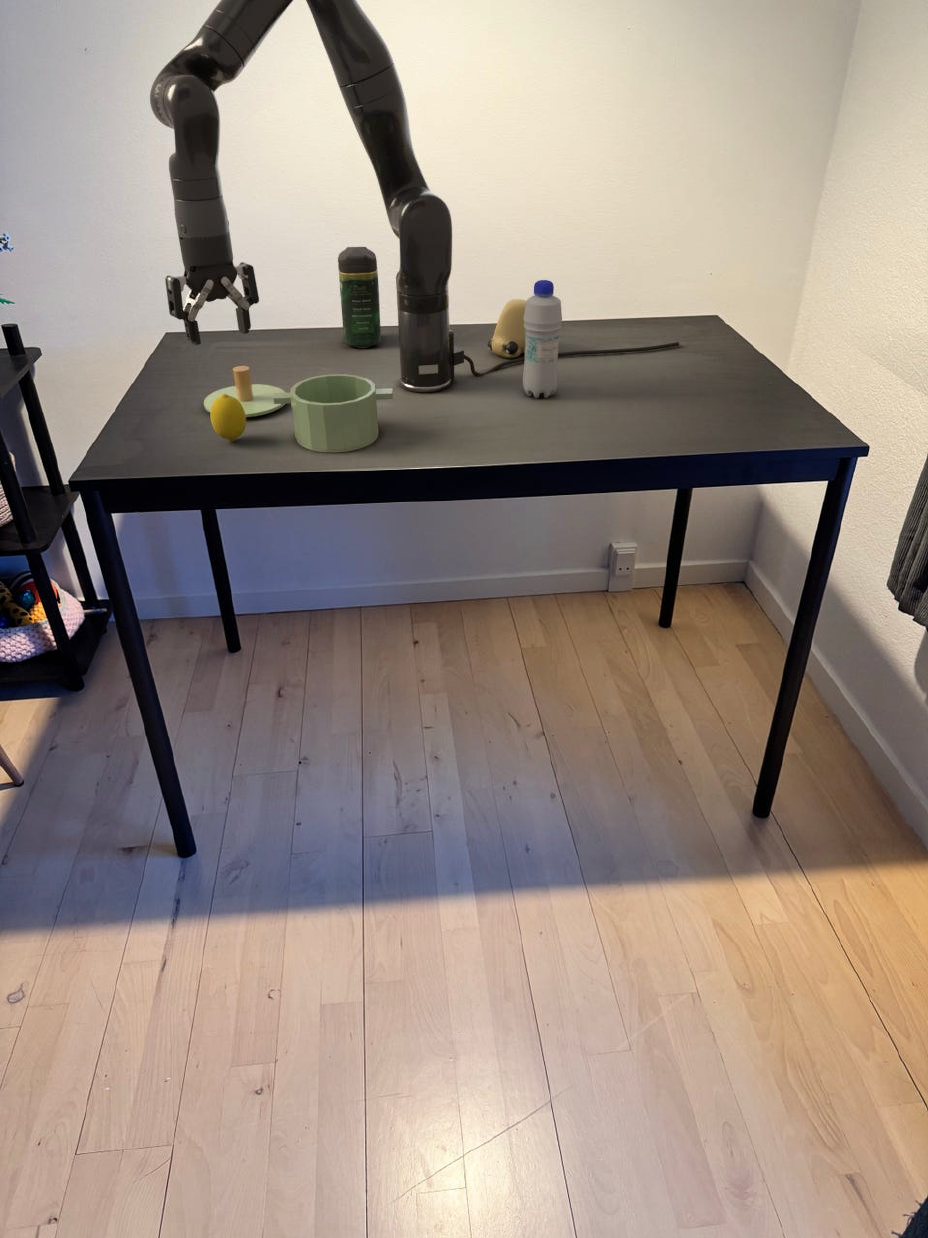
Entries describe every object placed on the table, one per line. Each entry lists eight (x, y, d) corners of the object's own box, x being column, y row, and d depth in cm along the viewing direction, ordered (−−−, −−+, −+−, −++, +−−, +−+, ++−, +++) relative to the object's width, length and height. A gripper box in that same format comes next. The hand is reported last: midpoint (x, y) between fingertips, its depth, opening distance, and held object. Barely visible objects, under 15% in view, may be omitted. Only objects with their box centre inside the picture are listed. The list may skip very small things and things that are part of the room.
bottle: (533, 403, 158) (537, 287, 147) (514, 390, 163) (517, 278, 152) (565, 396, 161) (572, 282, 149) (545, 384, 166) (550, 273, 154)
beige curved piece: (499, 364, 186) (469, 338, 177) (527, 313, 185) (499, 284, 177) (532, 375, 179) (502, 348, 171) (561, 322, 178) (533, 292, 170)
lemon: (241, 449, 143) (233, 401, 138) (209, 446, 144) (200, 399, 139) (254, 435, 147) (247, 389, 143) (223, 433, 148) (215, 386, 144)
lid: (211, 391, 164) (204, 356, 160) (290, 388, 165) (286, 353, 161) (198, 422, 152) (191, 384, 148) (284, 419, 153) (279, 381, 149)
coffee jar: (382, 348, 184) (377, 253, 173) (344, 350, 183) (336, 255, 172) (380, 334, 191) (375, 242, 181) (343, 335, 191) (336, 243, 180)
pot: (282, 421, 152) (276, 376, 148) (393, 417, 154) (391, 371, 149) (276, 455, 141) (269, 407, 136) (396, 449, 142) (393, 402, 138)
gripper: (233, 219, 139) (247, 324, 148) (147, 232, 131) (168, 341, 140) (258, 226, 134) (271, 334, 143) (170, 240, 126) (190, 353, 136)
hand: (220, 338), depth 142 cm, fingers open, 8 cm apart
